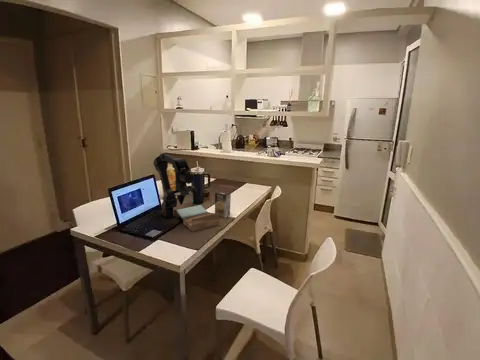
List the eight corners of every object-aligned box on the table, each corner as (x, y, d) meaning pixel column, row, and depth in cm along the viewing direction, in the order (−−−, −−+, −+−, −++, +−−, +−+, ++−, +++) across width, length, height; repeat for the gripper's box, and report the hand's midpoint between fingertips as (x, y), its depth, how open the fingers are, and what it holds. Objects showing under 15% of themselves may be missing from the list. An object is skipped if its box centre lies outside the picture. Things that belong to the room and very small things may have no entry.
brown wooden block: (183, 223, 170) (182, 211, 168) (208, 217, 180) (208, 206, 178) (192, 231, 159) (192, 219, 157) (219, 224, 169) (219, 213, 167)
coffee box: (214, 215, 184) (214, 192, 180) (219, 212, 189) (219, 190, 185) (225, 218, 179) (225, 195, 175) (230, 214, 185) (231, 192, 180)
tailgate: (182, 220, 170) (176, 212, 178) (207, 214, 180) (200, 207, 187) (182, 217, 170) (176, 209, 177) (207, 211, 179) (200, 204, 187)
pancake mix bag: (157, 199, 211) (155, 164, 203) (175, 193, 226) (174, 160, 218) (163, 201, 207) (161, 165, 200) (181, 194, 223) (180, 161, 215)
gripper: (170, 185, 150) (171, 211, 154) (200, 181, 160) (201, 205, 164) (163, 180, 159) (164, 205, 163) (192, 176, 169) (193, 200, 173)
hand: (181, 204), depth 165 cm, fingers closed
